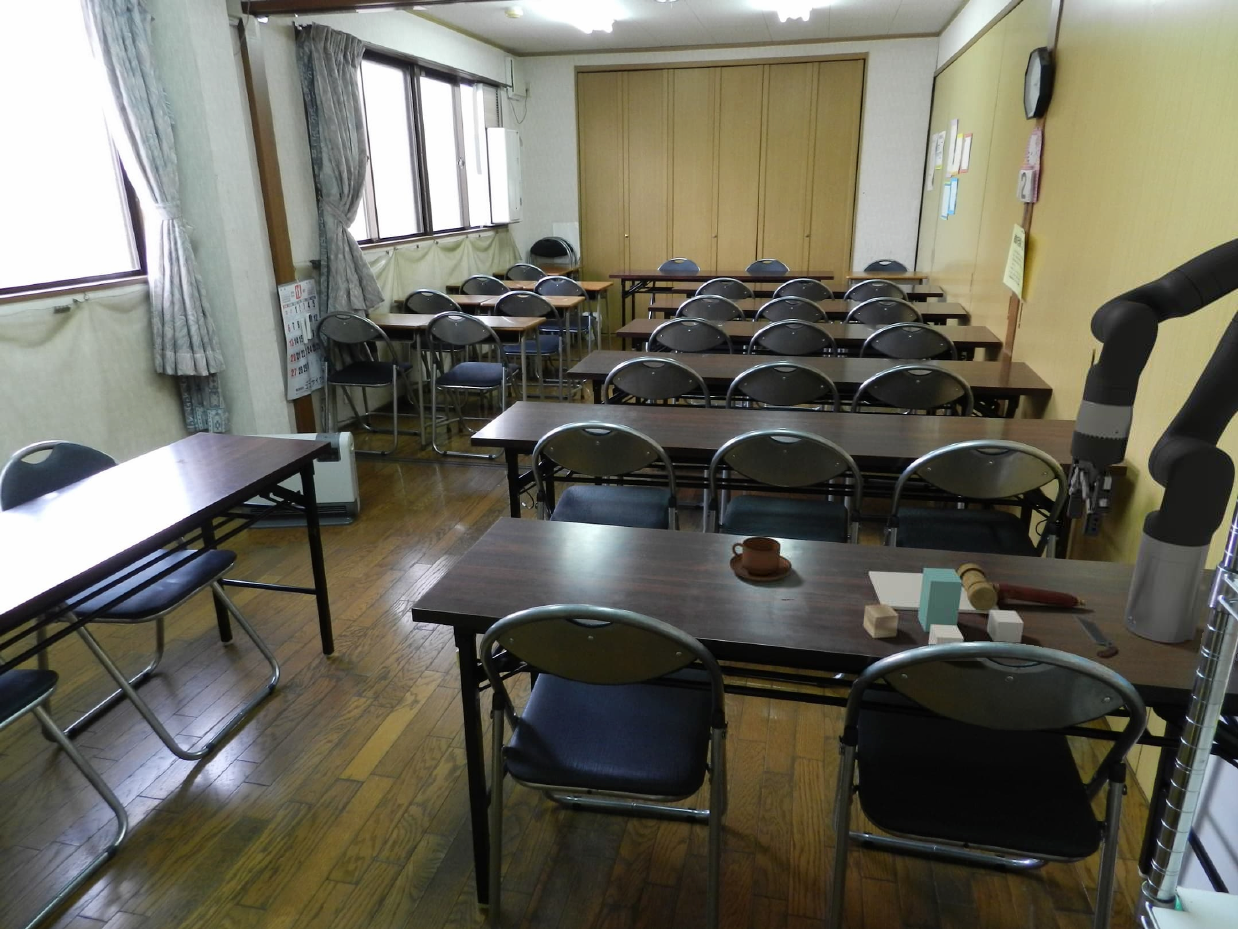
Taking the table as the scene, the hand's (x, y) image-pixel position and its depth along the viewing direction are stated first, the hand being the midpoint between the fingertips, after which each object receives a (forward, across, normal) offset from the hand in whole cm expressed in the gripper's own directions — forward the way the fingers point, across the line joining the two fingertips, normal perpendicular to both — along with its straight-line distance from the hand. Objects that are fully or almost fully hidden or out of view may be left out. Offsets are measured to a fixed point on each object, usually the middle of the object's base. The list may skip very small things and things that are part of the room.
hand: (1081, 526), depth 130 cm
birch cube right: (+20, -7, +30) cm, 37 cm away
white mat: (+19, +9, +20) cm, 29 cm away
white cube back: (+20, -12, +20) cm, 31 cm away
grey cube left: (+19, -5, +10) cm, 22 cm away
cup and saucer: (+20, +11, +51) cm, 56 cm away
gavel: (+18, +8, +4) cm, 20 cm away
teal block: (+19, -3, +20) cm, 28 cm away
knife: (+19, -1, -5) cm, 20 cm away
